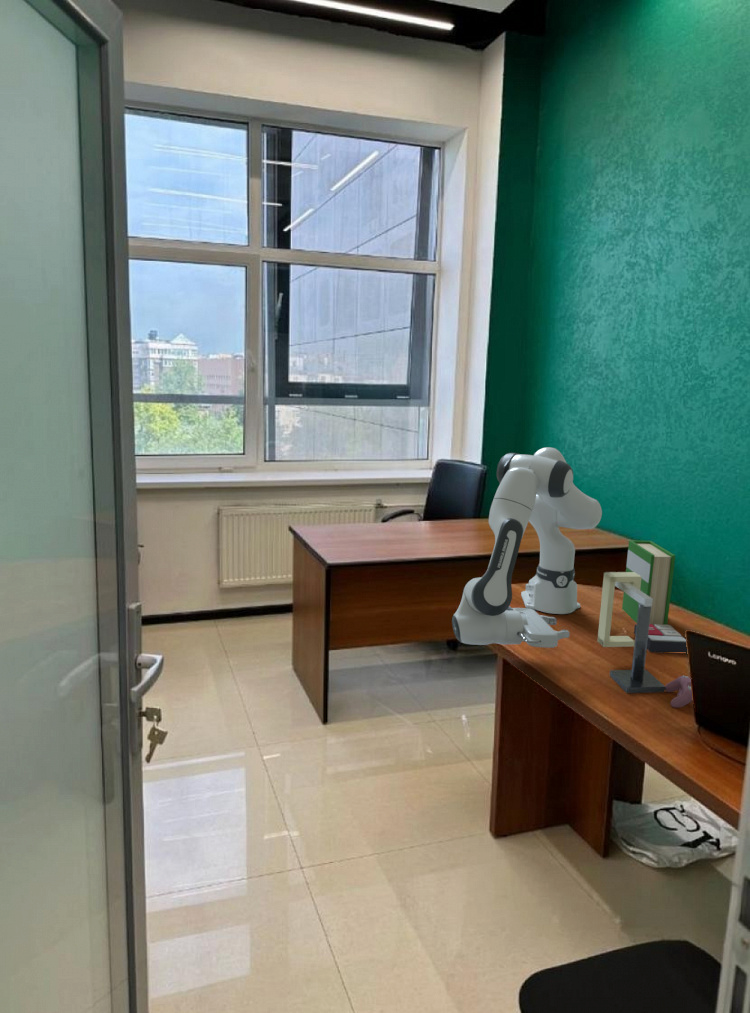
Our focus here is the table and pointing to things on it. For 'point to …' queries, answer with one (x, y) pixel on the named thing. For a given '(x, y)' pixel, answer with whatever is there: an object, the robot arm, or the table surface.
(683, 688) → the video game controller
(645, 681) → the hook stand
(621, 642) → the c-shaped bracket
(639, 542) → the hardback book
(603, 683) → the table surface
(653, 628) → the calculator
